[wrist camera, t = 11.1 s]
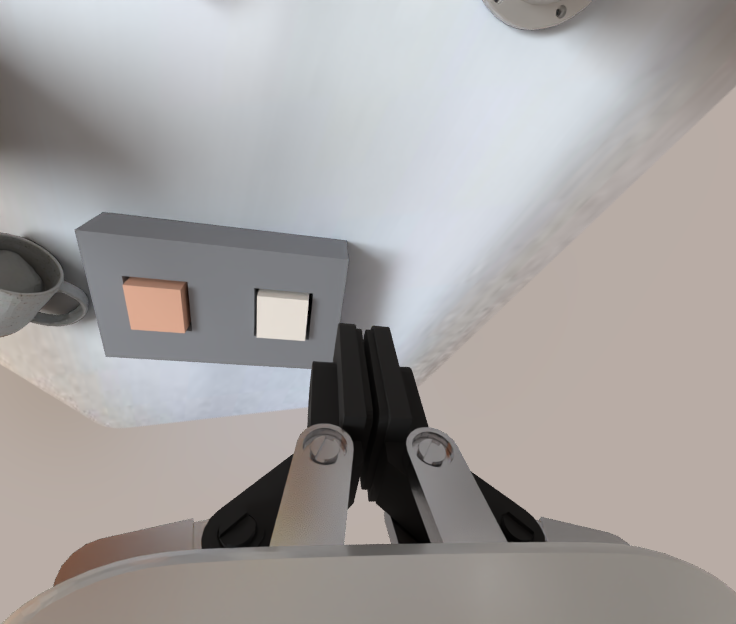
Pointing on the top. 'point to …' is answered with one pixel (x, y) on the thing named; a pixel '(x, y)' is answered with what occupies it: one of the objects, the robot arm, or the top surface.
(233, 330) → the key panel
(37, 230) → the top surface
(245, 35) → the top surface
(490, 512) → the robot arm
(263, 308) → the white key
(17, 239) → the ceramic mug
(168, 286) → the light orange cube
